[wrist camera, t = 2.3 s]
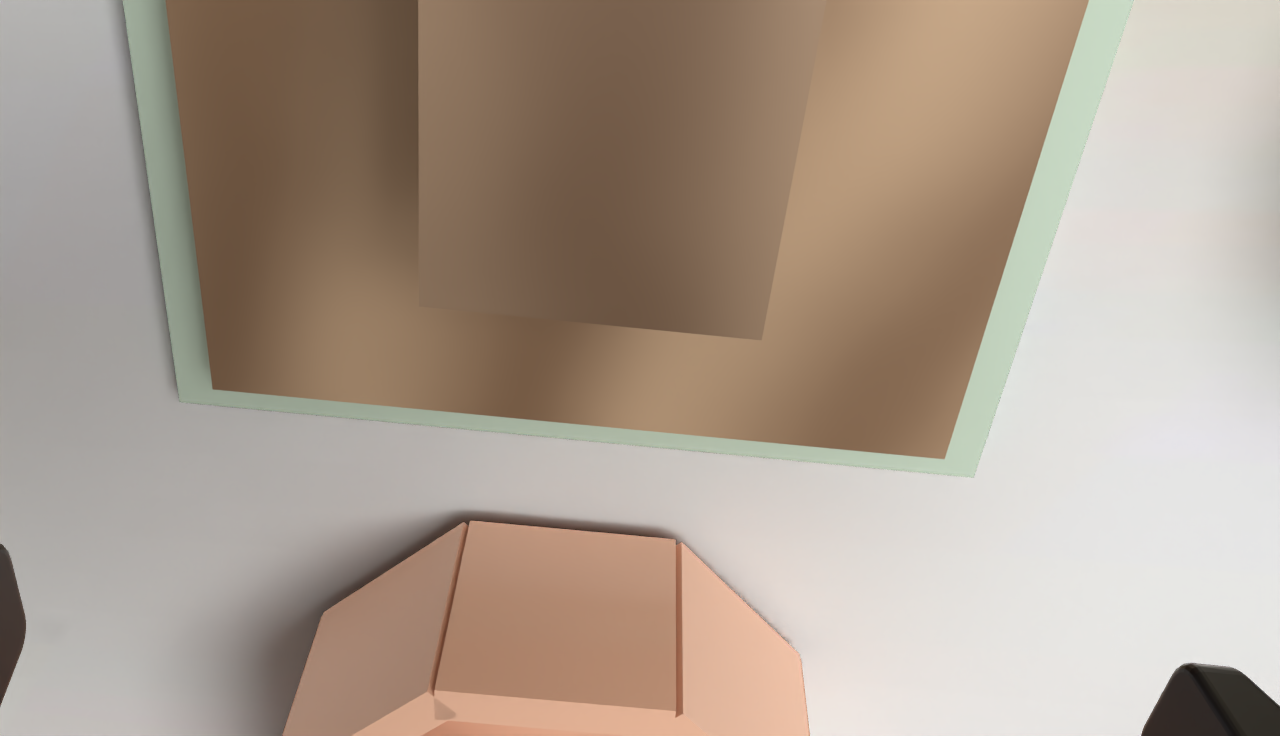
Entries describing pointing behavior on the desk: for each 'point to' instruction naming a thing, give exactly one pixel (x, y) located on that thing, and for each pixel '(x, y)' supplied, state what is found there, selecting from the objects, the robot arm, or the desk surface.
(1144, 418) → the desk surface
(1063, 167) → the mat
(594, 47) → the lid
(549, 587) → the bowl
